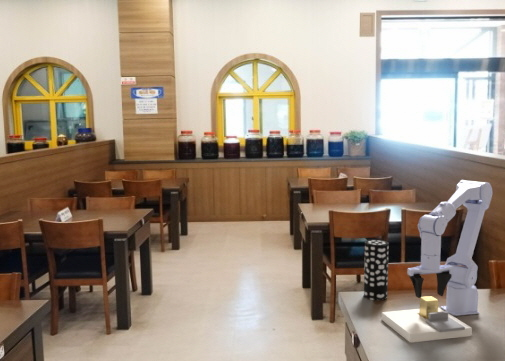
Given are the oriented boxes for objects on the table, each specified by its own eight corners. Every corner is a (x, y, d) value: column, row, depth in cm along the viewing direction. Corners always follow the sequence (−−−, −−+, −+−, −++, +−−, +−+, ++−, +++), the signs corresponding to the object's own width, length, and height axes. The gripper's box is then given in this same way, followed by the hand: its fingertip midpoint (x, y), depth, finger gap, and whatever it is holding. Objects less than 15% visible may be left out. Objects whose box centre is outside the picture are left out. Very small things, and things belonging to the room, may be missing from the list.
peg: (430, 320, 171) (431, 296, 170) (437, 324, 167) (438, 300, 166) (419, 321, 170) (419, 297, 169) (425, 326, 166) (426, 301, 165)
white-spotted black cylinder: (383, 302, 188) (384, 246, 186) (360, 297, 192) (361, 243, 190) (390, 295, 195) (391, 241, 193) (368, 291, 199) (369, 238, 197)
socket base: (437, 314, 176) (437, 307, 176) (471, 335, 159) (471, 327, 158) (381, 319, 172) (381, 312, 171) (410, 342, 154) (410, 334, 154)
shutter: (449, 319, 164) (449, 310, 164) (464, 329, 157) (465, 320, 156) (425, 322, 163) (425, 313, 162) (440, 332, 155) (440, 322, 155)
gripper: (444, 249, 172) (442, 290, 173) (403, 252, 168) (401, 293, 170) (457, 254, 165) (455, 297, 166) (414, 257, 161) (413, 301, 163)
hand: (429, 296), depth 168 cm, fingers open, 7 cm apart
